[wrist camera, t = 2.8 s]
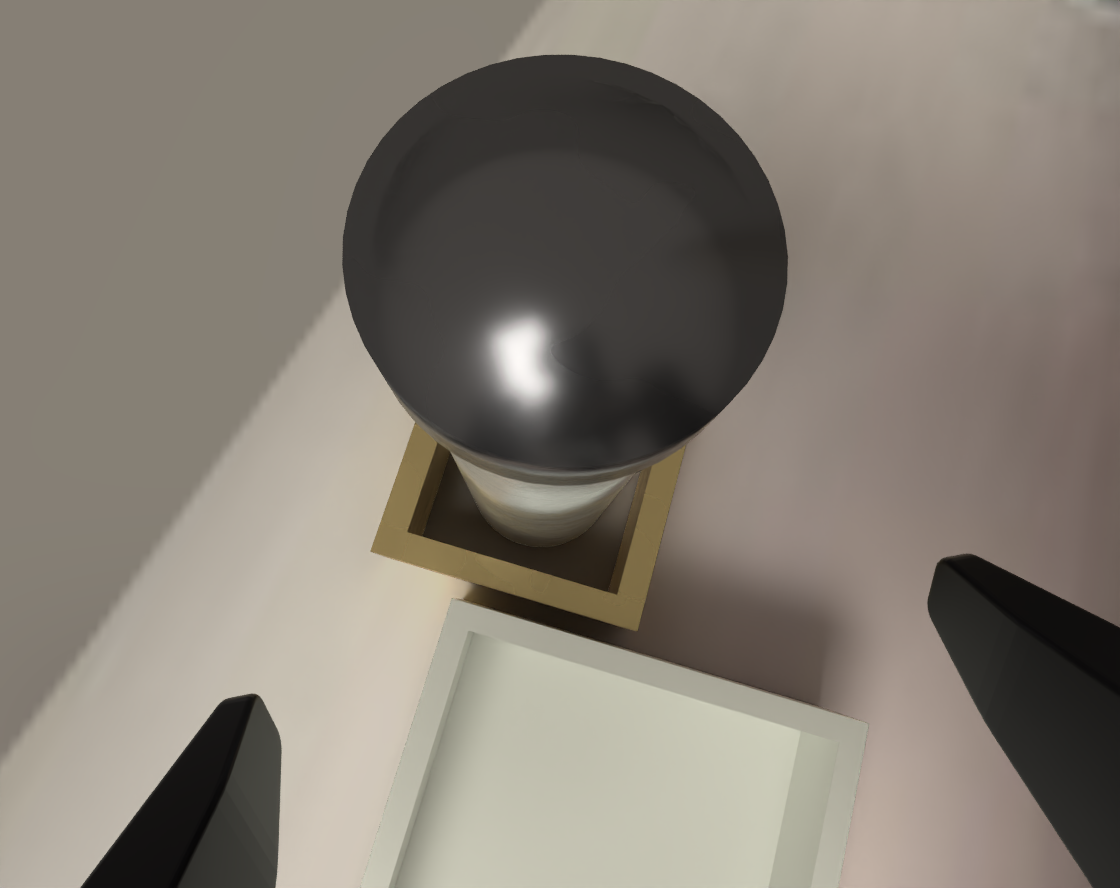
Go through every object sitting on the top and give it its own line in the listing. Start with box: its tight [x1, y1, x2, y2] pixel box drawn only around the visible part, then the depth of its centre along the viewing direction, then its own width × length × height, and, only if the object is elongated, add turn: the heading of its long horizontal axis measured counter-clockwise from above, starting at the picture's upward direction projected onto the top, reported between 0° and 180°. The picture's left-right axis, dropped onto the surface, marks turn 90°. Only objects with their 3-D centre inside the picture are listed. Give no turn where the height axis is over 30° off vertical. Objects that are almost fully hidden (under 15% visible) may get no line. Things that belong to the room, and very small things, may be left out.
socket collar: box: [371, 422, 686, 631], centre depth 20 cm, size 7×7×2 cm
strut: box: [342, 55, 788, 547], centre depth 15 cm, size 5×5×14 cm
